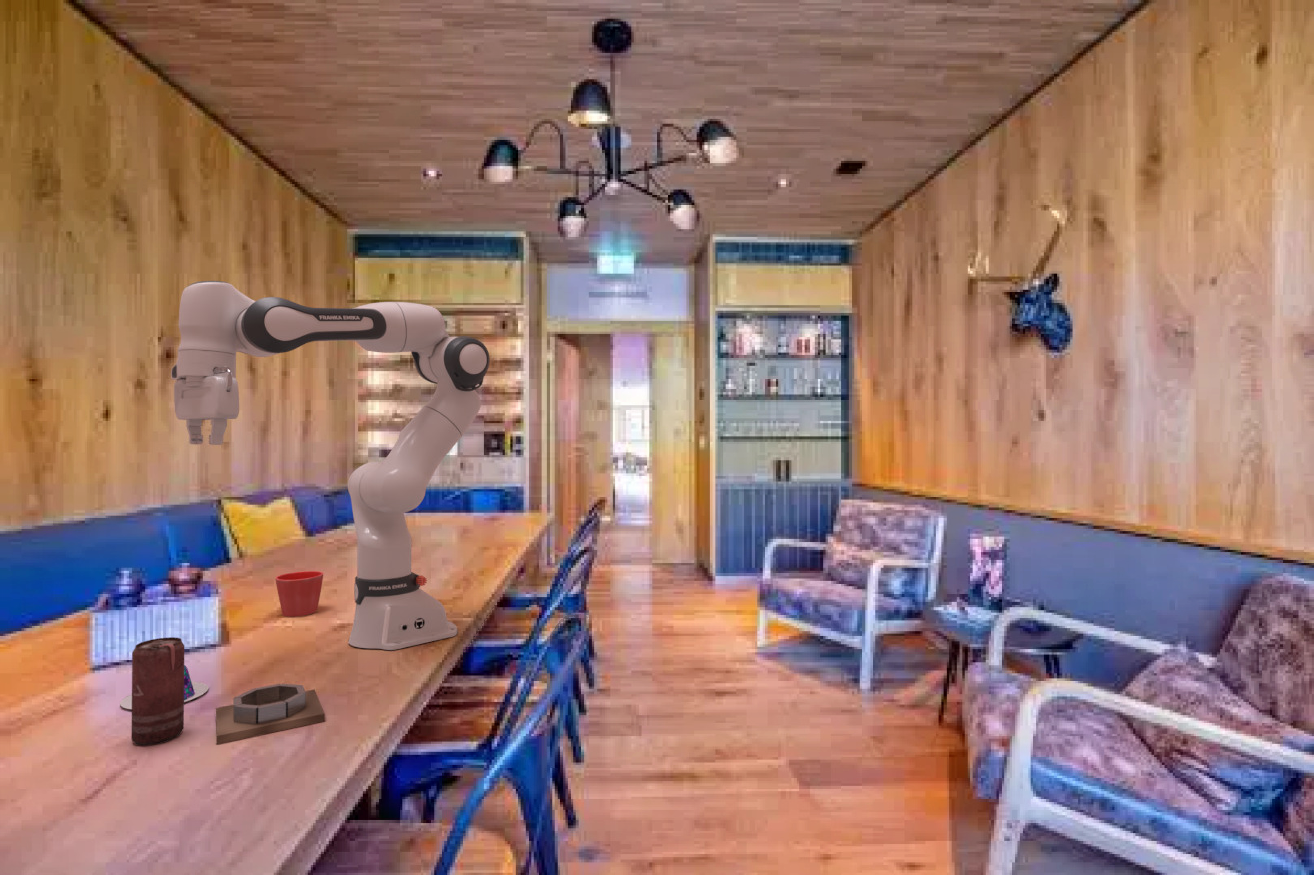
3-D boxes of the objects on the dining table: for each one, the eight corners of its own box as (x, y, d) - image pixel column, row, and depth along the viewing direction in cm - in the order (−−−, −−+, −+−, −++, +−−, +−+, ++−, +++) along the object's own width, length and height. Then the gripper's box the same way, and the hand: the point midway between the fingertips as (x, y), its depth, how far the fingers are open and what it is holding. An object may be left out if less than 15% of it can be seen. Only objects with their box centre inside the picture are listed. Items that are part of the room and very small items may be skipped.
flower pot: (264, 618, 161) (264, 578, 161) (296, 607, 172) (296, 570, 172) (303, 620, 160) (303, 580, 160) (332, 608, 170) (332, 571, 170)
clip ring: (300, 694, 110) (300, 680, 110) (307, 714, 102) (307, 698, 102) (232, 707, 104) (232, 692, 104) (234, 729, 96) (234, 712, 96)
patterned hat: (114, 720, 103) (114, 686, 103) (125, 695, 113) (126, 664, 113) (206, 704, 109) (207, 672, 109) (209, 681, 120) (210, 652, 120)
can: (157, 748, 93) (157, 649, 93) (120, 744, 94) (121, 646, 94) (195, 730, 99) (196, 637, 99) (160, 726, 100) (161, 634, 100)
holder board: (314, 696, 112) (314, 689, 112) (324, 721, 102) (324, 713, 102) (215, 715, 104) (215, 707, 104) (216, 744, 94) (216, 736, 94)
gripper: (250, 367, 116) (248, 445, 116) (205, 374, 129) (204, 444, 128) (209, 363, 111) (207, 445, 111) (167, 370, 124) (165, 444, 123)
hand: (205, 444), depth 120 cm, fingers open, 8 cm apart
